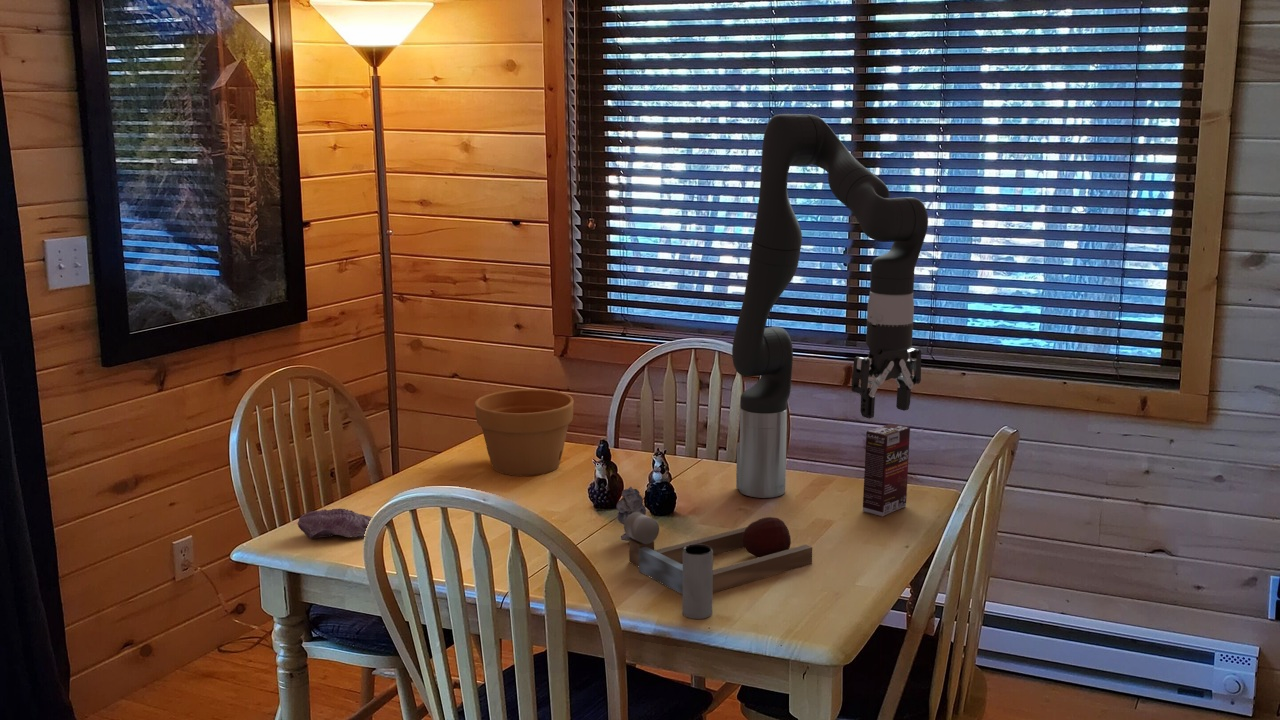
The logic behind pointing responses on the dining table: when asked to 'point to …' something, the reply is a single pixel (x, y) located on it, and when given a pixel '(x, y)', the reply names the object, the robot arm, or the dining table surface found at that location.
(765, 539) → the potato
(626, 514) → the grey lumpy rock
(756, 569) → the bay
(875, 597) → the dining table surface
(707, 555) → the grey tube
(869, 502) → the supplement box
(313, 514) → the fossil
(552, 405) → the flower pot
